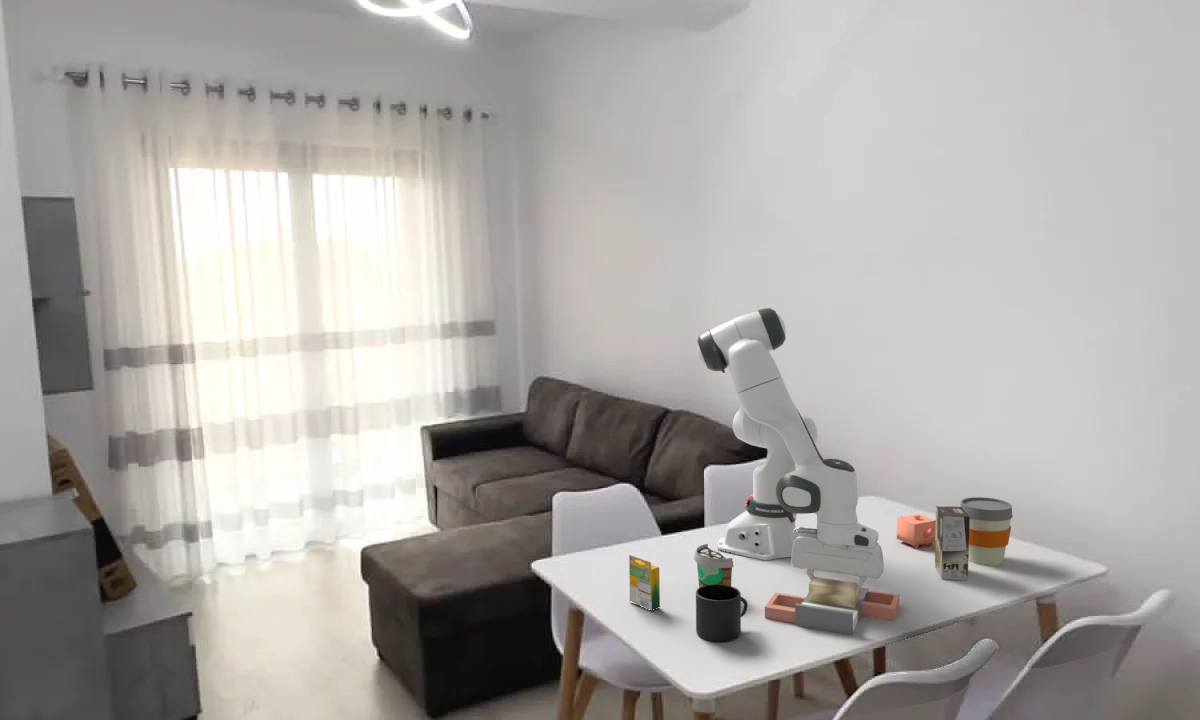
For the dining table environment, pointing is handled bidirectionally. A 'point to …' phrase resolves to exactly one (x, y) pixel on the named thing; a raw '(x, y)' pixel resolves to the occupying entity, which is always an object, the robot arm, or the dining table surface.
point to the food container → (712, 567)
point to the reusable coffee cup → (987, 529)
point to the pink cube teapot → (916, 529)
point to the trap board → (832, 610)
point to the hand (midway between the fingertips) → (836, 590)
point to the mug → (719, 612)
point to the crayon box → (644, 583)
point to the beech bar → (833, 592)
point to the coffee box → (952, 543)
